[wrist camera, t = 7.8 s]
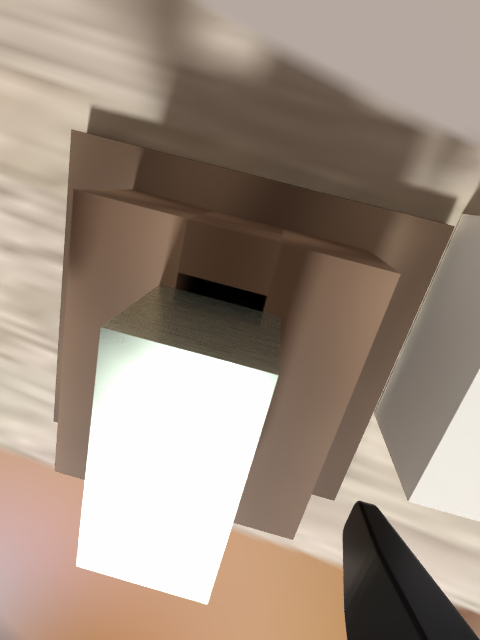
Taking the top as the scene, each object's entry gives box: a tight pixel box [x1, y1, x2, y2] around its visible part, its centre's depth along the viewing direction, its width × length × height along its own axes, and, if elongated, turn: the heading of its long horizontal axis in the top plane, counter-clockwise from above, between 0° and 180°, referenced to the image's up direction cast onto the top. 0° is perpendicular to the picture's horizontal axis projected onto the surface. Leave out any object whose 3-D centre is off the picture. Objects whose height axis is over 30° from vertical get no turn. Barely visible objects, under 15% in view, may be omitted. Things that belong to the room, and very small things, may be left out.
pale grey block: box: [76, 282, 281, 604], centre depth 12 cm, size 4×7×7 cm, turn 166°
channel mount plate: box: [54, 129, 455, 540], centre depth 14 cm, size 14×13×5 cm
